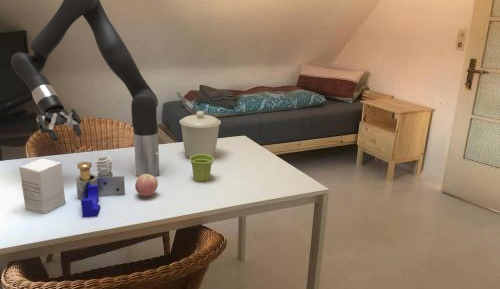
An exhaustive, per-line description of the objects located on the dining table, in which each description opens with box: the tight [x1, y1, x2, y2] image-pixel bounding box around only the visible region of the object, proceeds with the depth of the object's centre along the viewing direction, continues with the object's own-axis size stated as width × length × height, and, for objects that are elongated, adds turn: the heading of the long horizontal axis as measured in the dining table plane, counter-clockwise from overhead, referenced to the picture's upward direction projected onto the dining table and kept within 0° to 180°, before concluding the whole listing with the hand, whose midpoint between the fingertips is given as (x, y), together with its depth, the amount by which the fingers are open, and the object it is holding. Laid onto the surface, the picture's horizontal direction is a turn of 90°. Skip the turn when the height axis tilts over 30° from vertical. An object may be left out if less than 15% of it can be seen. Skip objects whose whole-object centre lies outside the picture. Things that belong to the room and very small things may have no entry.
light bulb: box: [95, 155, 113, 177], centre depth 159 cm, size 6×6×12 cm
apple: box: [134, 174, 159, 197], centre depth 153 cm, size 8×8×8 cm
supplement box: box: [19, 158, 66, 215], centre depth 141 cm, size 9×9×15 cm
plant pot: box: [189, 154, 215, 183], centre depth 169 cm, size 9×9×9 cm
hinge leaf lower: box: [76, 181, 88, 207], centre depth 147 cm, size 7×16×7 cm, turn 12°
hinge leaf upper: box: [75, 173, 126, 197], centre depth 152 cm, size 16×7×7 cm, turn 102°
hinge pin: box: [76, 161, 93, 181], centre depth 150 cm, size 5×5×12 cm
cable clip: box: [80, 185, 101, 218], centre depth 143 cm, size 12×4×6 cm, turn 9°
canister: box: [179, 110, 222, 159], centre depth 192 cm, size 18×18×21 cm
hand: (68, 137), depth 151 cm, fingers open, 8 cm apart
